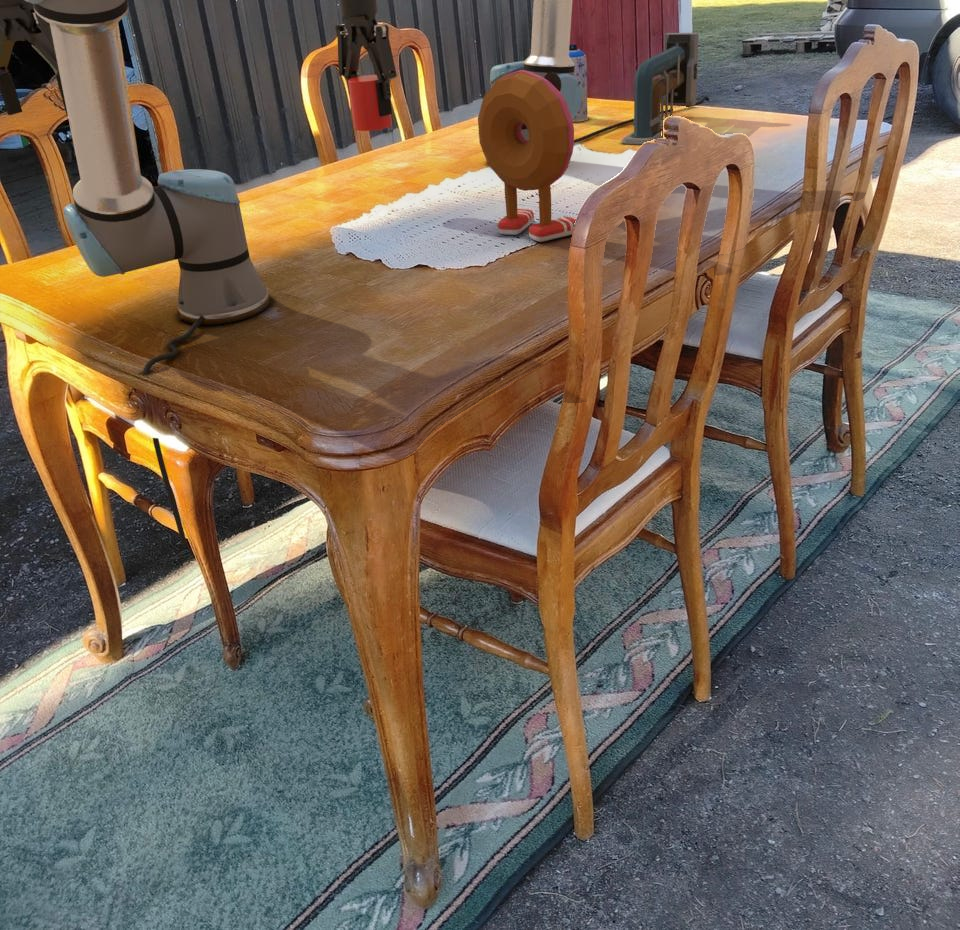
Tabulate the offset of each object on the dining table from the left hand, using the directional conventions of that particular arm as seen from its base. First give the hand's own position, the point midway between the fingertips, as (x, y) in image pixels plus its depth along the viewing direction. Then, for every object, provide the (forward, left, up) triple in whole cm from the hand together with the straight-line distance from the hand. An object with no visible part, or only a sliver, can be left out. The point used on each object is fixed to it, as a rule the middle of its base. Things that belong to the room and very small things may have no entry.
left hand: (44, 113), depth 170 cm
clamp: (+123, -91, -30) cm, 156 cm away
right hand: (+48, -41, -10) cm, 64 cm away
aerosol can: (+136, -65, -30) cm, 154 cm away
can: (+48, -41, -13) cm, 65 cm away
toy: (+33, -79, -30) cm, 91 cm away
